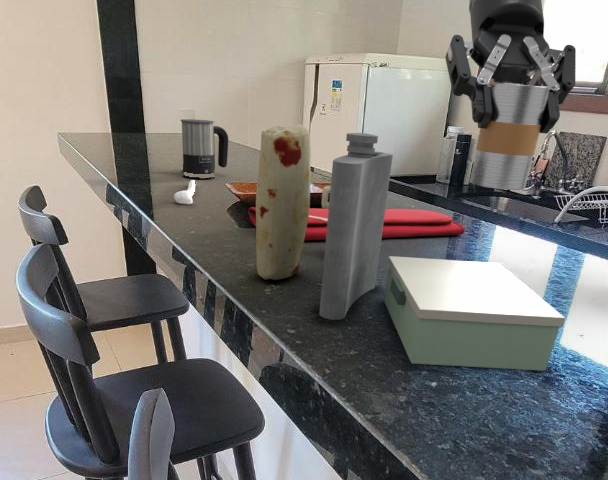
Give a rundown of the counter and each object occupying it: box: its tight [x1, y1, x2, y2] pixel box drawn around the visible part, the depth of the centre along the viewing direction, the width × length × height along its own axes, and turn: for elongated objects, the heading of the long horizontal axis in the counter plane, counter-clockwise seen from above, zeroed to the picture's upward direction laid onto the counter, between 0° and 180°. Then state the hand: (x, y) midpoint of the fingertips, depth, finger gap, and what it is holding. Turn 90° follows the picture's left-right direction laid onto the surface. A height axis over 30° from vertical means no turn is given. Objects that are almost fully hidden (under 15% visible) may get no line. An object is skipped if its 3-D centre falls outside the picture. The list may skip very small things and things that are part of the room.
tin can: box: [469, 82, 550, 191], centre depth 57 cm, size 6×6×10 cm
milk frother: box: [180, 118, 229, 180], centre depth 151 cm, size 14×16×15 cm
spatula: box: [173, 179, 197, 206], centre depth 126 cm, size 28×4×3 cm, turn 8°
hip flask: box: [318, 132, 394, 321], centre depth 65 cm, size 16×4×20 cm, turn 157°
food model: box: [255, 123, 312, 281], centre depth 72 cm, size 10×7×20 cm
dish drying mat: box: [247, 206, 466, 242], centre depth 104 cm, size 16×41×4 cm, turn 113°
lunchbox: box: [383, 255, 566, 372], centre depth 61 cm, size 16×18×6 cm
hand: (516, 124), depth 55 cm, fingers closed on tin can, 6 cm apart
